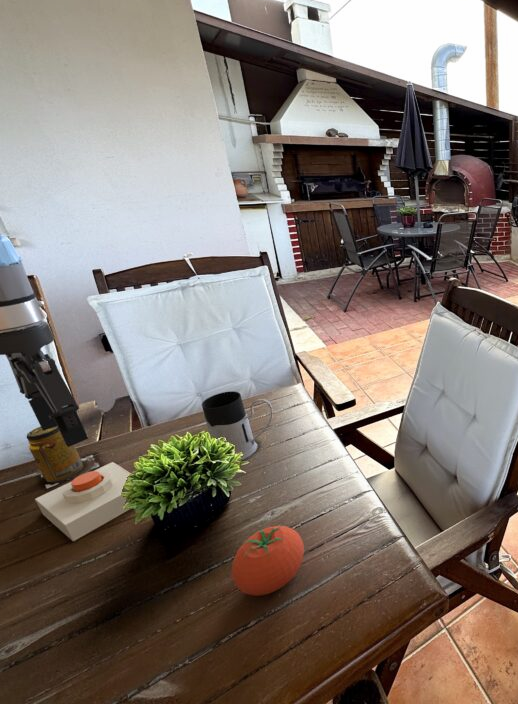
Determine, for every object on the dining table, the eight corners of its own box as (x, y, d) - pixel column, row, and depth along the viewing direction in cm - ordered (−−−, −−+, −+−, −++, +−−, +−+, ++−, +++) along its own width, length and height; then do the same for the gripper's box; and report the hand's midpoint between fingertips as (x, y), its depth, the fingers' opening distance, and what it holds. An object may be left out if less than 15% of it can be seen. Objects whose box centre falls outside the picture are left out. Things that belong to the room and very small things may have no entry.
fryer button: (70, 488, 79) (67, 481, 79) (97, 475, 83) (93, 468, 82) (79, 494, 78) (76, 487, 77) (106, 481, 81) (103, 474, 80)
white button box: (43, 515, 80) (30, 491, 78) (119, 476, 90) (109, 455, 88) (73, 542, 74) (60, 517, 72) (151, 497, 84) (142, 475, 82)
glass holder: (223, 444, 101) (207, 392, 95) (285, 435, 104) (273, 385, 99) (208, 467, 93) (190, 412, 88) (276, 456, 96) (263, 403, 91)
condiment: (40, 475, 90) (17, 431, 86) (92, 455, 97) (73, 413, 93) (47, 489, 86) (23, 444, 82) (100, 467, 93) (80, 423, 89)
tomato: (321, 563, 70) (311, 520, 67) (269, 620, 61) (254, 574, 58) (280, 544, 74) (268, 502, 70) (224, 595, 65) (208, 551, 61)
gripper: (73, 329, 67) (119, 439, 74) (21, 310, 76) (66, 409, 84) (5, 346, 60) (63, 464, 68) (-43, 322, 70) (13, 428, 77)
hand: (65, 434), depth 76 cm, fingers open, 10 cm apart
